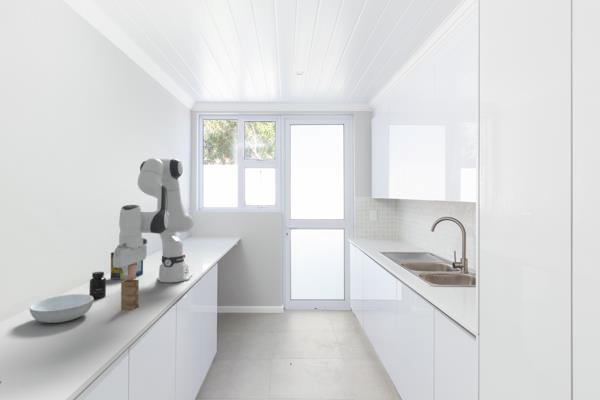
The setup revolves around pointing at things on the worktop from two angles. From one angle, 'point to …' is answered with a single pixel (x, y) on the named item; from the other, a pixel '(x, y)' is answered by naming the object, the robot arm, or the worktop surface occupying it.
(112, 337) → the worktop surface
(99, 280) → the supplement bottle
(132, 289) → the block top
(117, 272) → the protein box
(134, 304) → the block bottom
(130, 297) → the block middle
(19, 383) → the worktop surface
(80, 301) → the serving bowl
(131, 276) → the cylinder
